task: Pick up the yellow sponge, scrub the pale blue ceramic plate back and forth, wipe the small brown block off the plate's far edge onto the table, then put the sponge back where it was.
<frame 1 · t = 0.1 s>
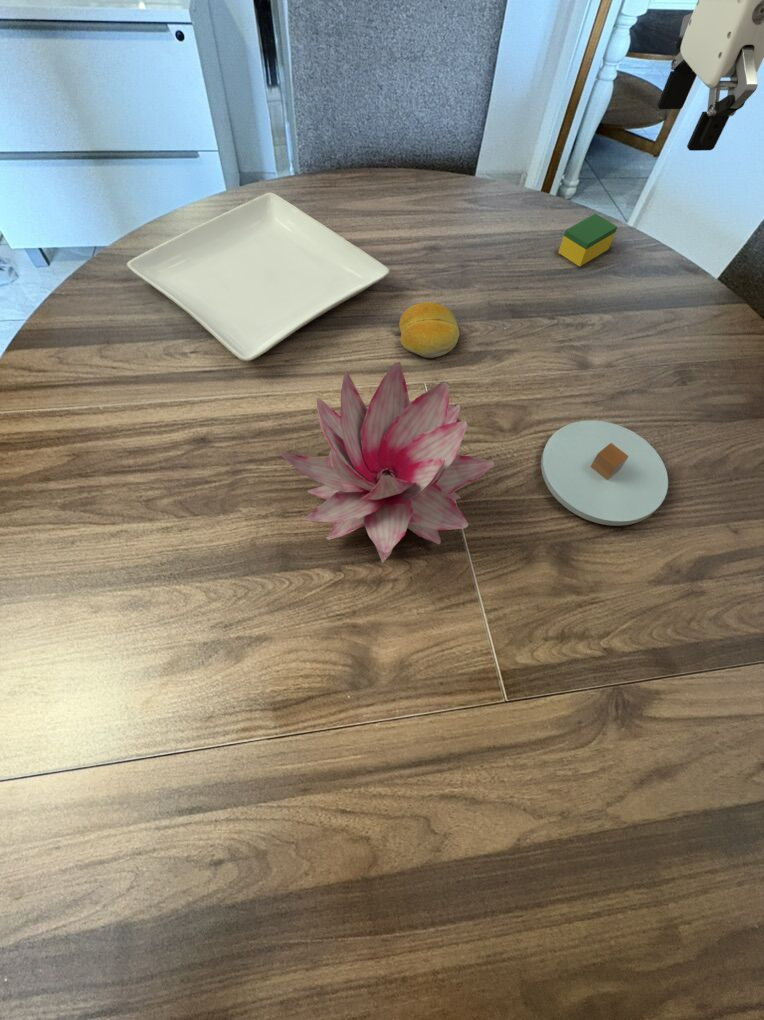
hand: (683, 127, 75), 23 cm above the table, tool pointing down, fingers open, 9 cm apart
small brown block: (605, 468, 74), point 2 cm above the table, touching plate
sponge: (583, 251, 99), on the table
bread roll: (427, 338, 87), on the table
decorative flower: (383, 501, 72), on the table
plate: (600, 475, 75), on the table
square plate: (262, 287, 91), on the table
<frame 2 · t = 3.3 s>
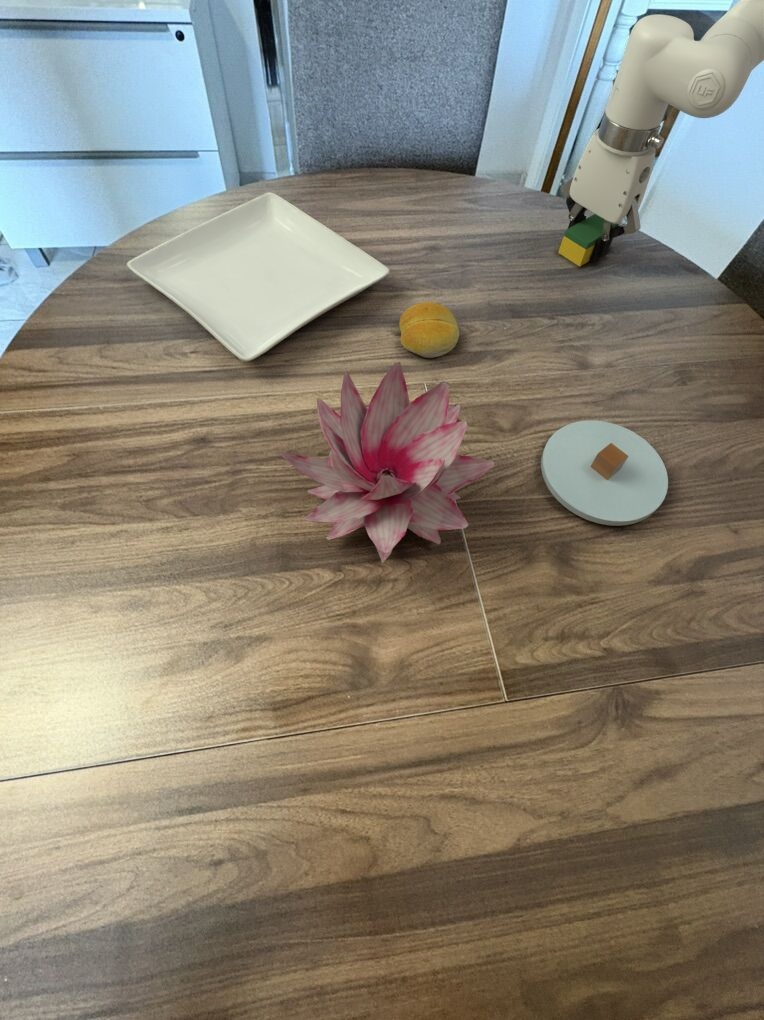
hand: (584, 249, 99), 0 cm above the table, tool pointing down, fingers closed on sponge, 4 cm apart
sponge: (583, 251, 99), on the table, touching gripper
everything else where it was.
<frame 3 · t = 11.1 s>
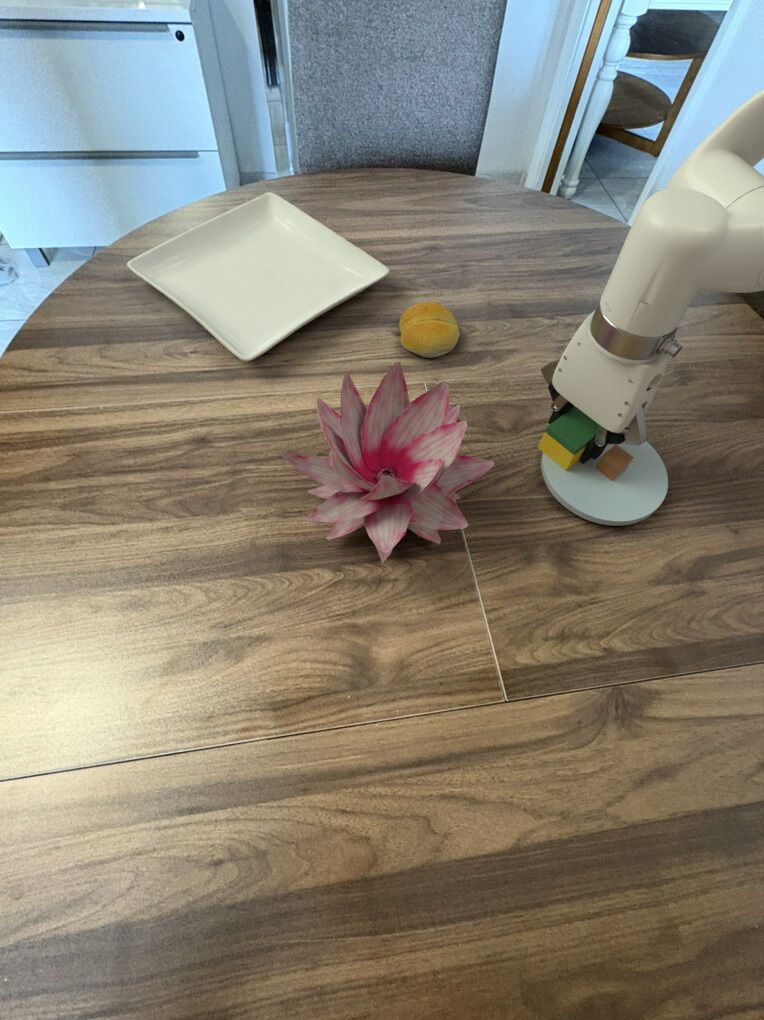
hand: (572, 442, 75), 2 cm above the table, tool pointing down, fingers closed on sponge, 4 cm apart
small brown block: (610, 469, 74), point 2 cm above the table, touching gripper
sponge: (571, 444, 75), point 2 cm above the table, touching gripper
everything else where it was.
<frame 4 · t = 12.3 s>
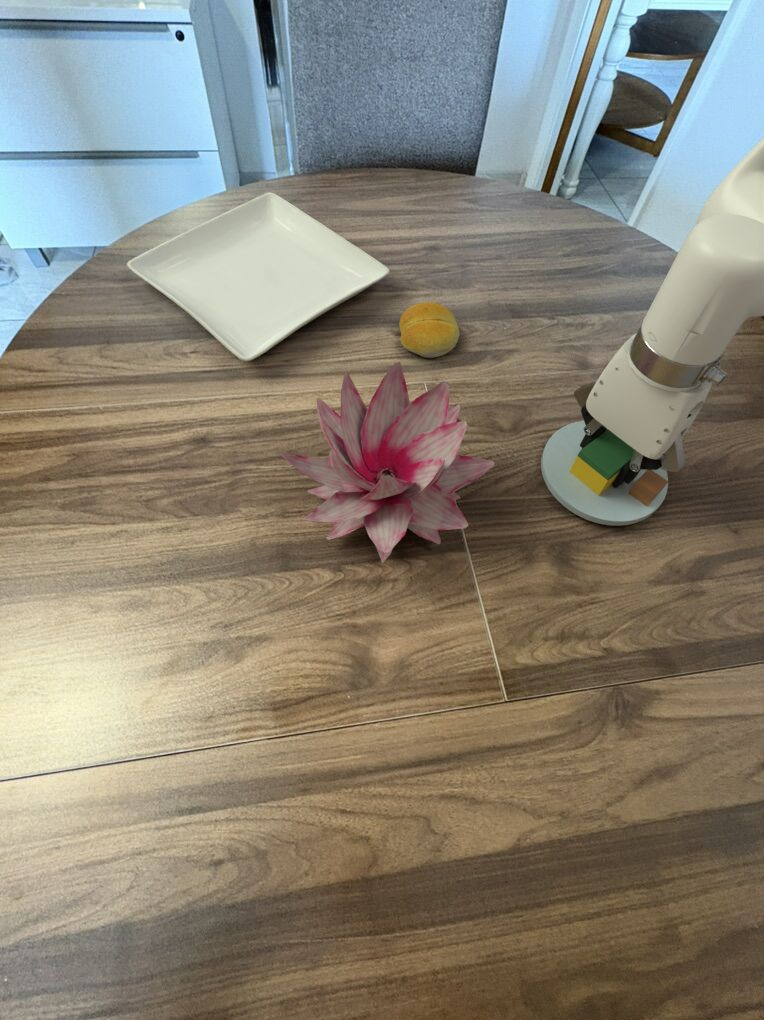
hand: (604, 466, 73), 2 cm above the table, tool pointing down, fingers closed on sponge, 4 cm apart
small brown block: (643, 493, 72), point 2 cm above the table, touching gripper, plate
sponge: (603, 467, 74), point 2 cm above the table, touching gripper
everything else where it was.
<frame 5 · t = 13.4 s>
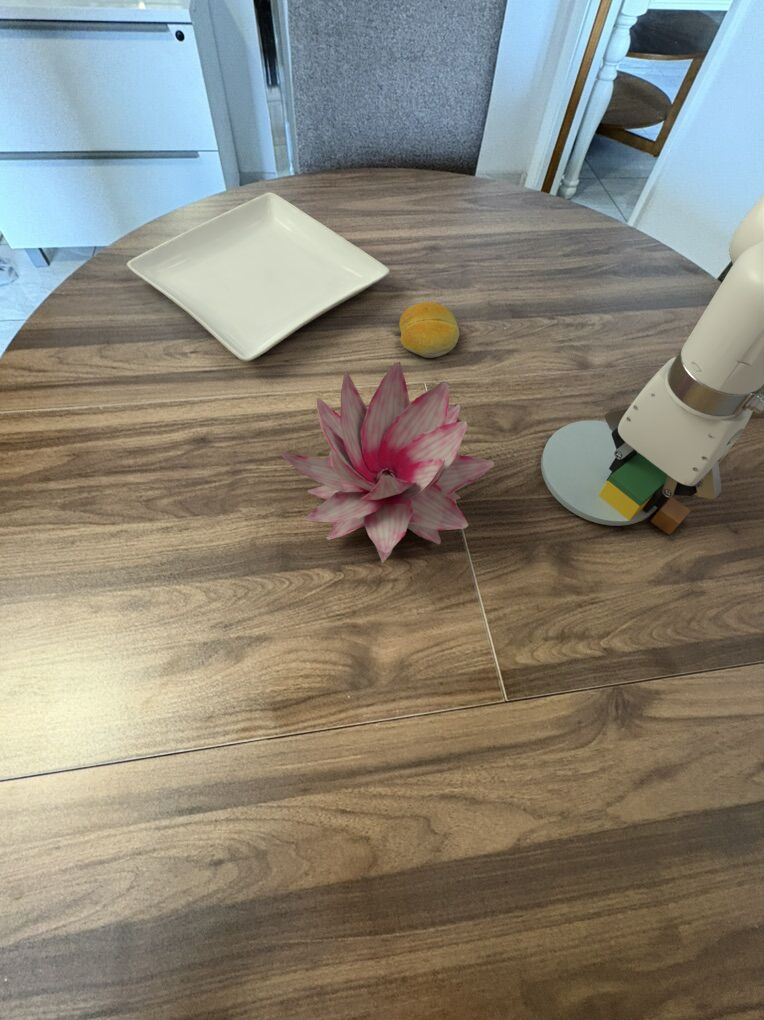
hand: (634, 489, 72), 2 cm above the table, tool pointing down, fingers closed on sponge, 4 cm apart
small brown block: (660, 509, 71), point 1 cm above the table, tilted 90°, touching gripper
sponge: (633, 491, 72), point 2 cm above the table, touching gripper
everything else where it was.
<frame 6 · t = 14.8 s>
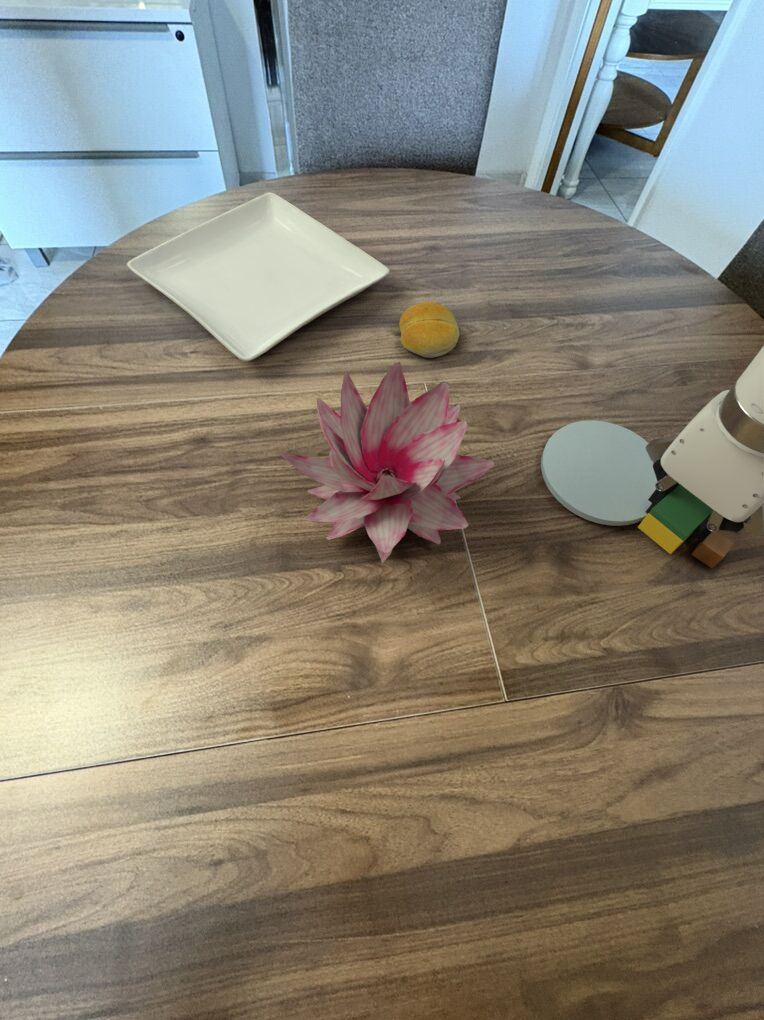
hand: (674, 521, 70), 2 cm above the table, tool pointing down, fingers closed on sponge, 4 cm apart
small brown block: (701, 541, 69), point 1 cm above the table, tilted 90°, touching gripper
sponge: (672, 522, 70), point 2 cm above the table, touching gripper
everything else where it was.
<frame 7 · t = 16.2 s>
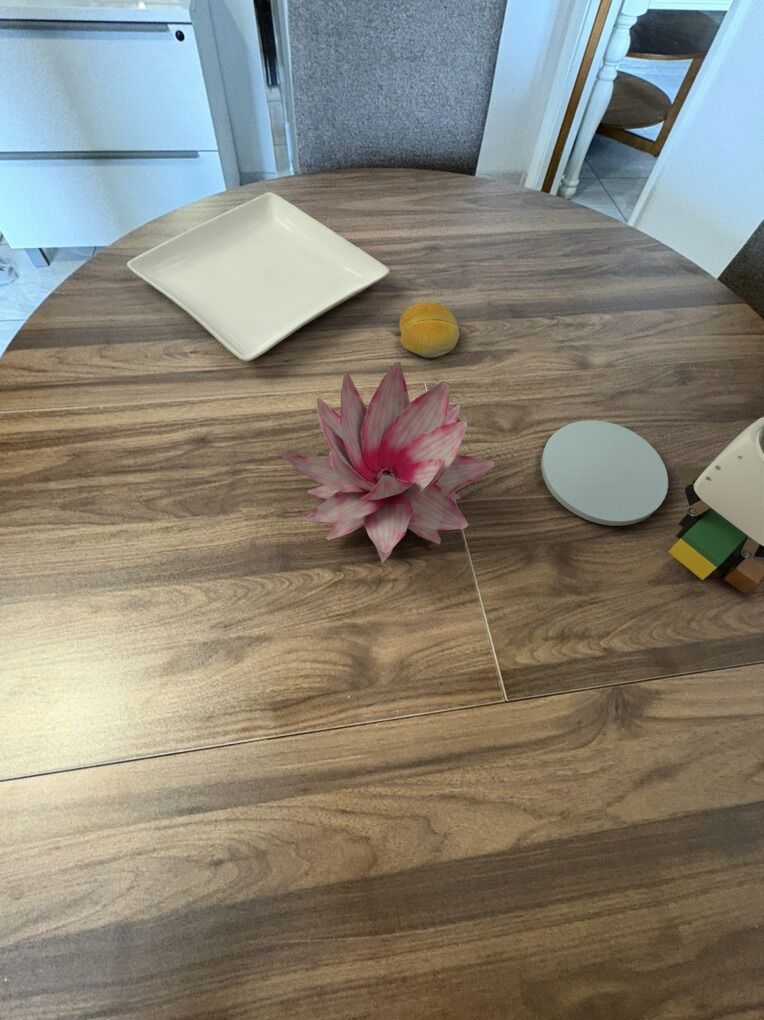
hand: (705, 545, 68), 2 cm above the table, tool pointing down, fingers closed on sponge, 4 cm apart
small brown block: (734, 566, 67), point 1 cm above the table, tilted 90°, touching gripper
sponge: (704, 547, 68), point 2 cm above the table, touching gripper
everything else where it was.
when the fingers open (0 cm above the table, at t = 23.8 s): sponge stays where it is, on the table.
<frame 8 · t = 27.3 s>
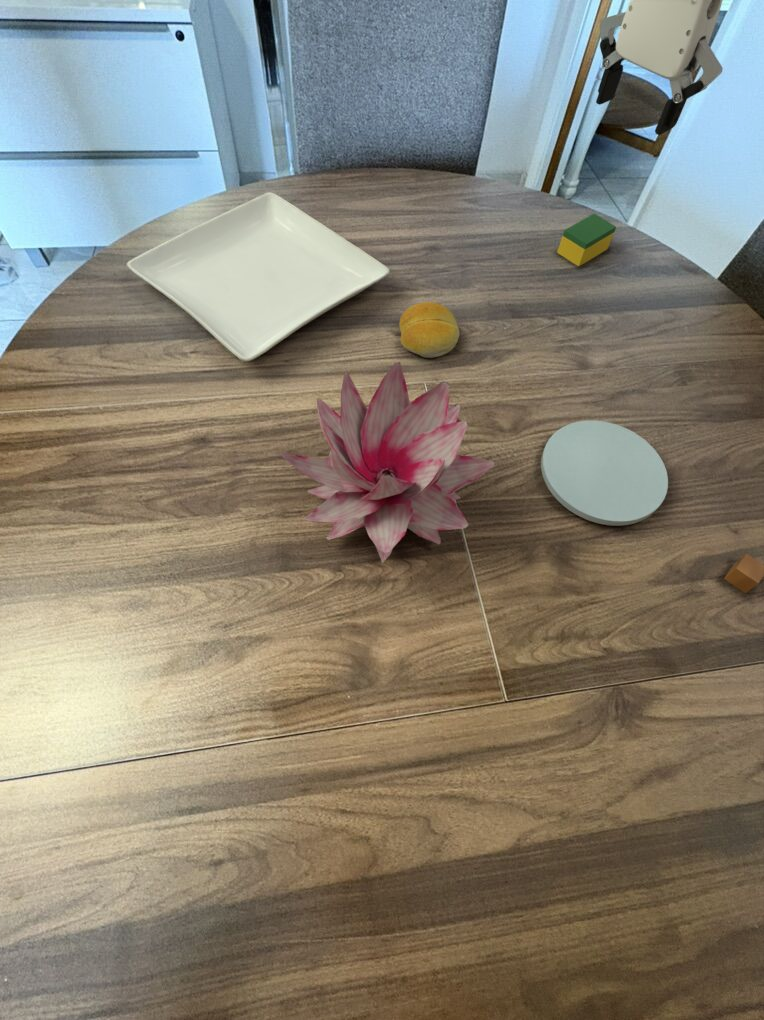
hand: (632, 116, 82), 20 cm above the table, tool pointing down, fingers open, 9 cm apart
small brown block: (734, 566, 68), point 1 cm above the table, tilted 90°
sponge: (582, 251, 99), on the table
everything else where it was.
at the end: small brown block point 1.3 cm above the table; small brown block inside the target area on the table beside the plate (4.1 cm from its centre), point 1.3 cm above the table; sponge inside the target area (0.1 cm from its centre), on the table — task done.
